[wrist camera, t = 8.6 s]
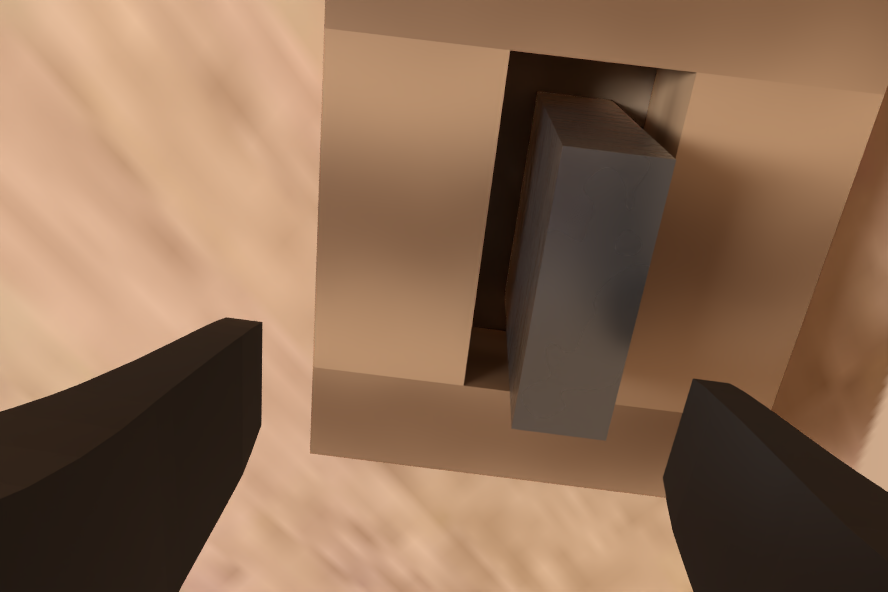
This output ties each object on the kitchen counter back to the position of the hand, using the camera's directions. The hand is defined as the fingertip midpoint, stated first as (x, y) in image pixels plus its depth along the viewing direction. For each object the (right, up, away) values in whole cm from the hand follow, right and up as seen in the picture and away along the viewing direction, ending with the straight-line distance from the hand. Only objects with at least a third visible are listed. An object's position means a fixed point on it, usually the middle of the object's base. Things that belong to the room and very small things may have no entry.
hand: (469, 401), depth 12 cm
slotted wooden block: (+3, +4, +8) cm, 10 cm away
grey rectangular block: (+3, +4, +8) cm, 10 cm away
